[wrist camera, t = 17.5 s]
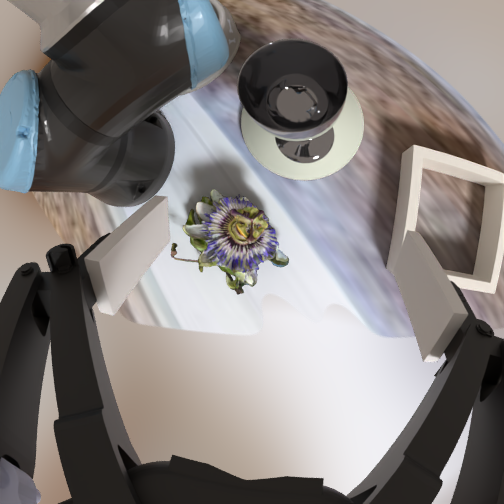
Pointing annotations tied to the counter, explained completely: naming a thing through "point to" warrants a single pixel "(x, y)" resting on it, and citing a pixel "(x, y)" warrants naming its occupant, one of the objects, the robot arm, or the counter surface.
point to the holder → (493, 221)
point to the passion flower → (232, 238)
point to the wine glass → (295, 96)
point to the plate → (340, 154)
